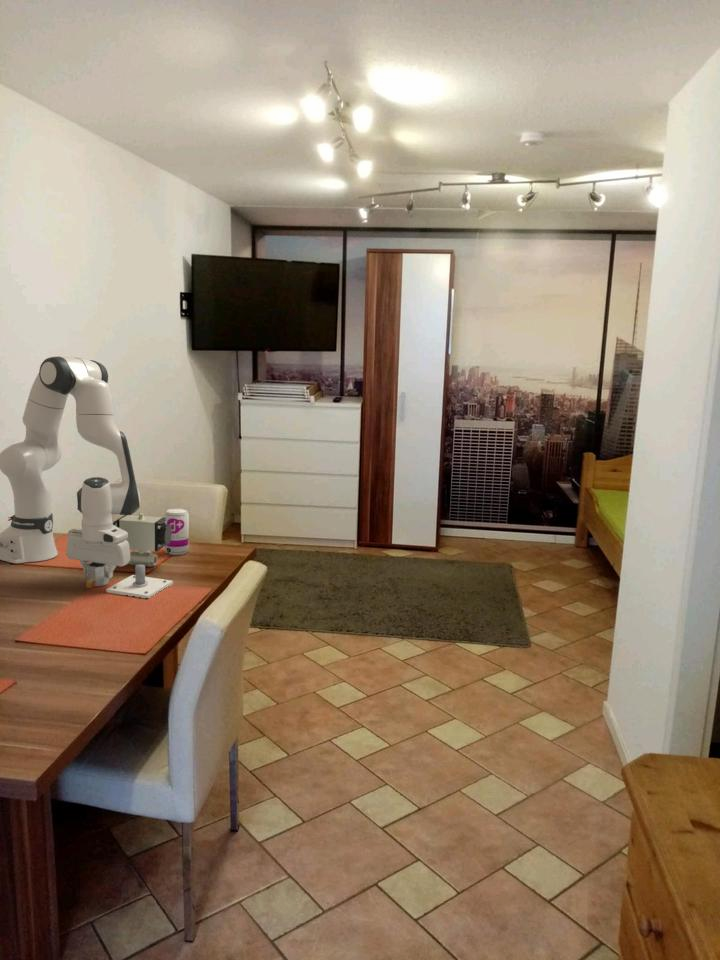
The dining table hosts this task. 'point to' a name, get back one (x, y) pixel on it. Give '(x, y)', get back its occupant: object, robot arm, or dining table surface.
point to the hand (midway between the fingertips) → (98, 575)
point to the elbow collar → (96, 574)
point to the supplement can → (178, 531)
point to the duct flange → (139, 584)
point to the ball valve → (145, 537)
